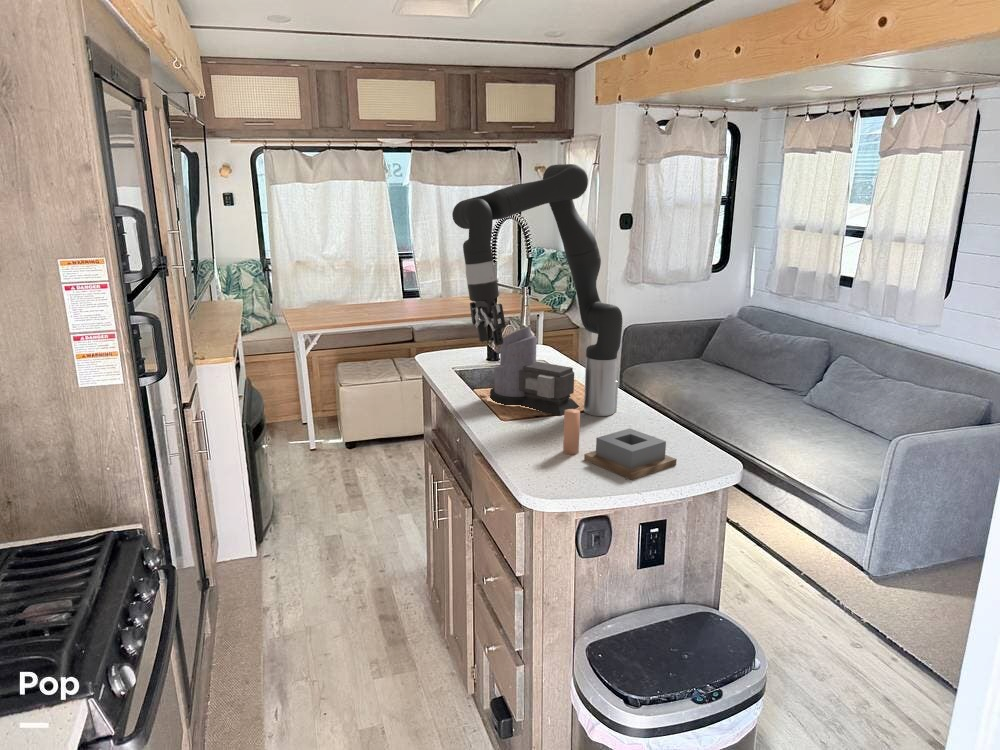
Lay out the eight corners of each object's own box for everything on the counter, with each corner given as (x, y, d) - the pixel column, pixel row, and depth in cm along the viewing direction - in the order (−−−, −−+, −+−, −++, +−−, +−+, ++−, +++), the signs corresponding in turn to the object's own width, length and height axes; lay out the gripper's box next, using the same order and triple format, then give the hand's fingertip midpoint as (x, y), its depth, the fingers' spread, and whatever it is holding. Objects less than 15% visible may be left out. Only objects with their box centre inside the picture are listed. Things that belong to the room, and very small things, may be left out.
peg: (571, 448, 188) (572, 408, 185) (581, 452, 185) (583, 411, 182) (559, 451, 185) (561, 410, 182) (570, 455, 182) (571, 414, 179)
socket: (628, 444, 186) (629, 428, 185) (664, 458, 177) (666, 441, 176) (595, 454, 179) (596, 437, 178) (631, 469, 170) (632, 451, 169)
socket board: (628, 446, 189) (628, 441, 189) (676, 464, 177) (676, 459, 176) (584, 459, 180) (584, 453, 179) (631, 479, 167) (631, 473, 167)
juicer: (476, 400, 229) (476, 325, 223) (505, 389, 242) (506, 318, 235) (556, 418, 212) (559, 337, 206) (583, 405, 225) (586, 329, 218)
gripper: (508, 278, 175) (517, 342, 179) (482, 276, 187) (491, 337, 191) (481, 284, 172) (490, 349, 176) (456, 282, 184) (466, 343, 188)
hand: (491, 342), depth 183 cm, fingers open, 8 cm apart
